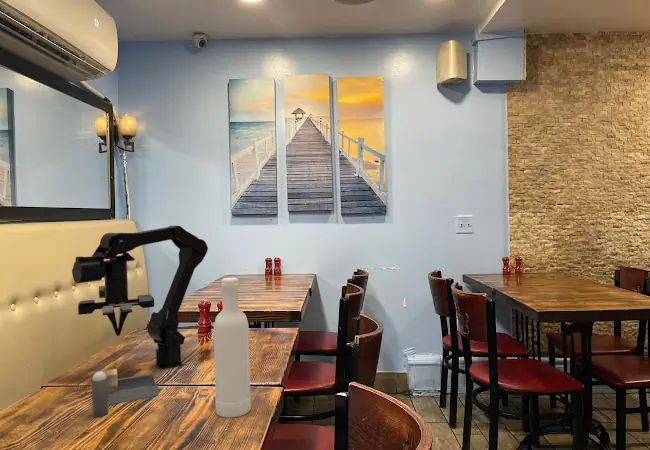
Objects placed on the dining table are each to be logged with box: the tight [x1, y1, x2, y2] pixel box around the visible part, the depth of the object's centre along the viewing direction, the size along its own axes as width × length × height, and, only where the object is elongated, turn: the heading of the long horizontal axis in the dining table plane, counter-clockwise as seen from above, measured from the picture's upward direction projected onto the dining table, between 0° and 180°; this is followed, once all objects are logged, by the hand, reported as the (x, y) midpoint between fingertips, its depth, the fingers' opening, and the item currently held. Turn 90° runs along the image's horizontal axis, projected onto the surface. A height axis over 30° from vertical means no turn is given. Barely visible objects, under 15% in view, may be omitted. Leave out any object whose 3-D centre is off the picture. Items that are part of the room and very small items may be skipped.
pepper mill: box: [91, 370, 109, 418], centre depth 105 cm, size 3×3×10 cm
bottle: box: [213, 277, 252, 418], centre depth 105 cm, size 8×8×30 cm
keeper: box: [101, 368, 119, 393], centre depth 115 cm, size 4×4×5 cm
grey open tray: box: [94, 370, 159, 406], centre depth 117 cm, size 14×10×6 cm
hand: (118, 335), depth 128 cm, fingers closed
